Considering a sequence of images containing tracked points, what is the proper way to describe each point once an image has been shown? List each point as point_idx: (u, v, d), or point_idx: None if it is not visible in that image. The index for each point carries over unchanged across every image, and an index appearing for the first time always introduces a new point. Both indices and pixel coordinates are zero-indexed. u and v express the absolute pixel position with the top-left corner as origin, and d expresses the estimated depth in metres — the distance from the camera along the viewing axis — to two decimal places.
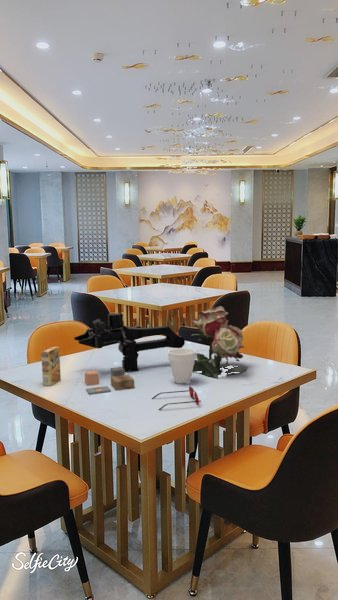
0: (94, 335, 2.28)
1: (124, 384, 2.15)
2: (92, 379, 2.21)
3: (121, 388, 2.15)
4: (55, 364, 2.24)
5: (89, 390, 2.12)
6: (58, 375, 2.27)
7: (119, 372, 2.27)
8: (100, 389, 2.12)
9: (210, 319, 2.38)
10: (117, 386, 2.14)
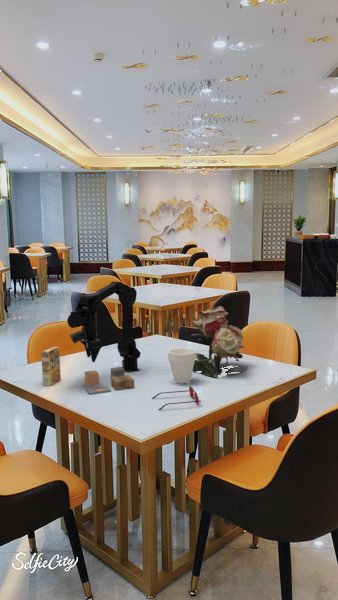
0: (88, 348, 2.14)
1: (123, 384, 2.15)
2: (92, 379, 2.21)
3: (121, 388, 2.15)
4: (55, 364, 2.24)
5: (89, 390, 2.12)
6: (58, 375, 2.27)
7: (119, 372, 2.27)
8: (100, 389, 2.12)
9: (210, 319, 2.38)
10: (117, 386, 2.14)
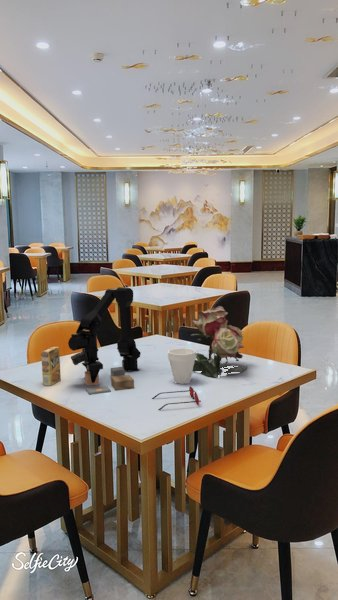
0: (87, 370, 2.17)
1: (123, 384, 2.15)
2: None
3: (121, 388, 2.15)
4: (55, 364, 2.24)
5: (89, 390, 2.12)
6: (58, 375, 2.27)
7: (119, 372, 2.27)
8: (100, 389, 2.12)
9: (210, 319, 2.38)
10: (116, 386, 2.14)
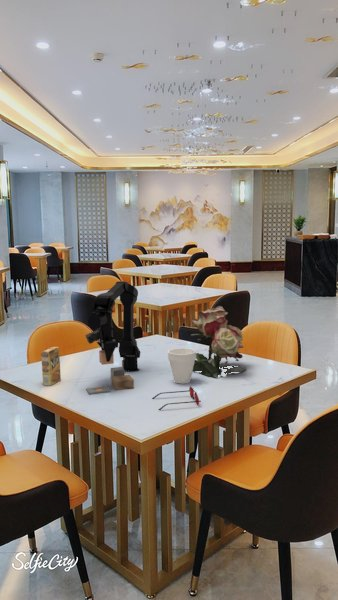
0: (102, 348, 2.13)
1: (123, 384, 2.15)
2: None
3: (120, 388, 2.15)
4: (55, 364, 2.24)
5: (89, 390, 2.12)
6: (58, 375, 2.27)
7: (119, 372, 2.27)
8: (100, 389, 2.12)
9: (209, 319, 2.39)
10: (116, 386, 2.14)
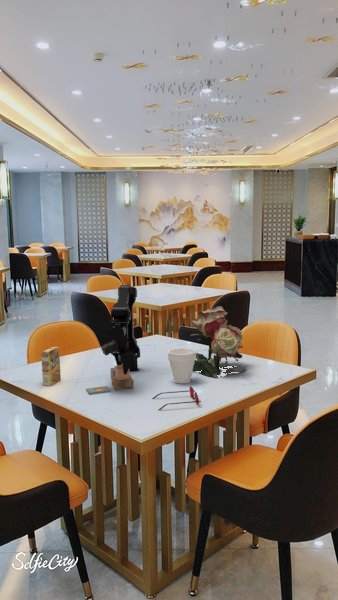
0: (120, 361, 2.09)
1: (123, 384, 2.15)
2: (122, 373, 2.16)
3: (120, 388, 2.15)
4: (55, 364, 2.24)
5: (89, 390, 2.12)
6: (58, 375, 2.27)
7: None
8: (100, 389, 2.12)
9: (209, 319, 2.39)
10: (116, 386, 2.14)
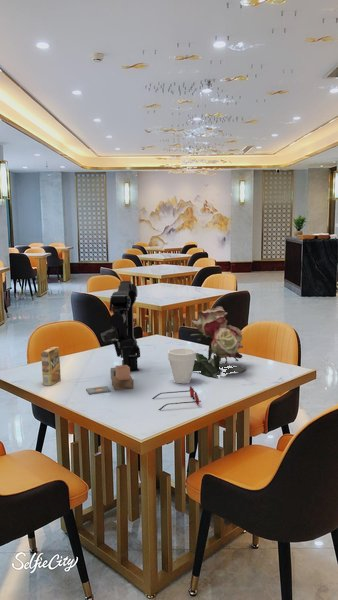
0: (119, 348, 2.08)
1: (122, 385, 2.15)
2: (123, 373, 2.16)
3: (120, 388, 2.15)
4: (55, 364, 2.24)
5: (89, 390, 2.12)
6: (58, 375, 2.27)
7: None
8: (100, 389, 2.12)
9: (209, 319, 2.39)
10: (116, 386, 2.14)
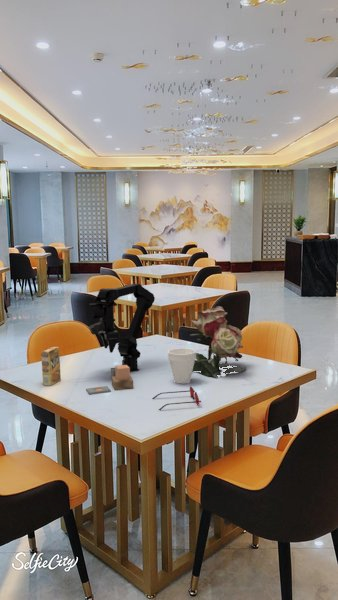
0: (106, 339, 2.24)
1: (122, 385, 2.15)
2: (123, 373, 2.16)
3: (120, 388, 2.15)
4: (55, 364, 2.24)
5: (89, 390, 2.12)
6: (58, 375, 2.27)
7: None
8: (100, 389, 2.12)
9: (209, 319, 2.39)
10: (116, 386, 2.14)
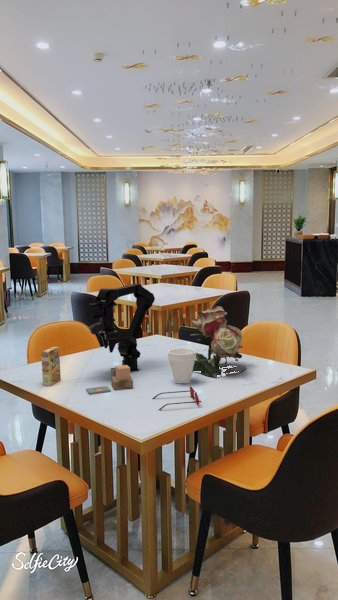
0: (106, 339, 2.25)
1: (122, 385, 2.15)
2: (123, 373, 2.15)
3: (119, 388, 2.15)
4: (55, 364, 2.24)
5: (89, 390, 2.12)
6: (58, 375, 2.27)
7: None
8: (100, 389, 2.12)
9: (209, 319, 2.39)
10: (115, 386, 2.14)
